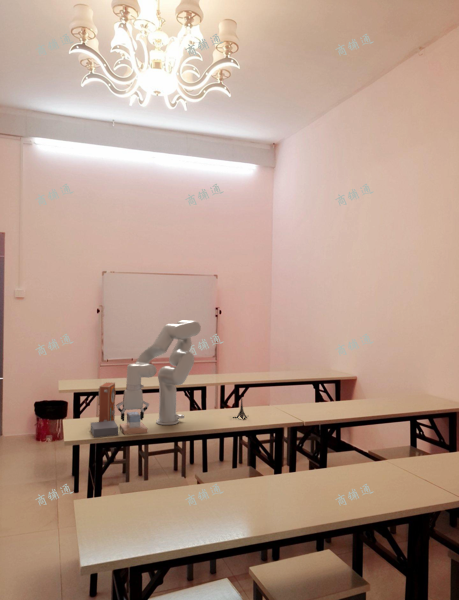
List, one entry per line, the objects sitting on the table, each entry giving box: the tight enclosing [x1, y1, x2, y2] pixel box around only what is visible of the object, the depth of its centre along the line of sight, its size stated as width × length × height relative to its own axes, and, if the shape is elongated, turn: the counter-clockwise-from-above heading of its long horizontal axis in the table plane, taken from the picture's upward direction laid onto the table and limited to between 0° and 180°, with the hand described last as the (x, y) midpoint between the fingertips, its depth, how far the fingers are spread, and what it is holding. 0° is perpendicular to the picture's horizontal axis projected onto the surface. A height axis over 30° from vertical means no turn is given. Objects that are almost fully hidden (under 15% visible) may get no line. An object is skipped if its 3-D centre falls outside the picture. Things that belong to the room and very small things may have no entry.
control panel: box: [98, 382, 117, 422], centre depth 261 cm, size 21×7×15 cm
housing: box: [126, 411, 141, 429], centre depth 247 cm, size 6×9×6 cm, turn 23°
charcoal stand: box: [90, 420, 119, 438], centre depth 241 cm, size 12×14×4 cm
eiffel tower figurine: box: [235, 397, 248, 419], centre depth 276 cm, size 15×10×13 cm
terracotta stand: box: [119, 421, 149, 436], centre depth 247 cm, size 12×14×2 cm
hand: (132, 420), depth 247 cm, fingers open, 9 cm apart
